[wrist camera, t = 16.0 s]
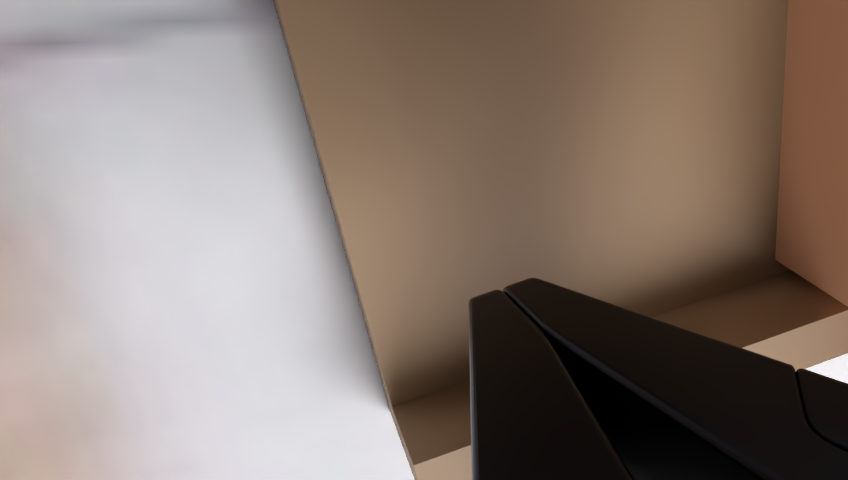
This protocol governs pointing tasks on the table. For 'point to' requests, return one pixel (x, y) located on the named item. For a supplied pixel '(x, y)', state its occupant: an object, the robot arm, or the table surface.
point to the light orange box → (815, 146)
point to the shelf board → (551, 176)
